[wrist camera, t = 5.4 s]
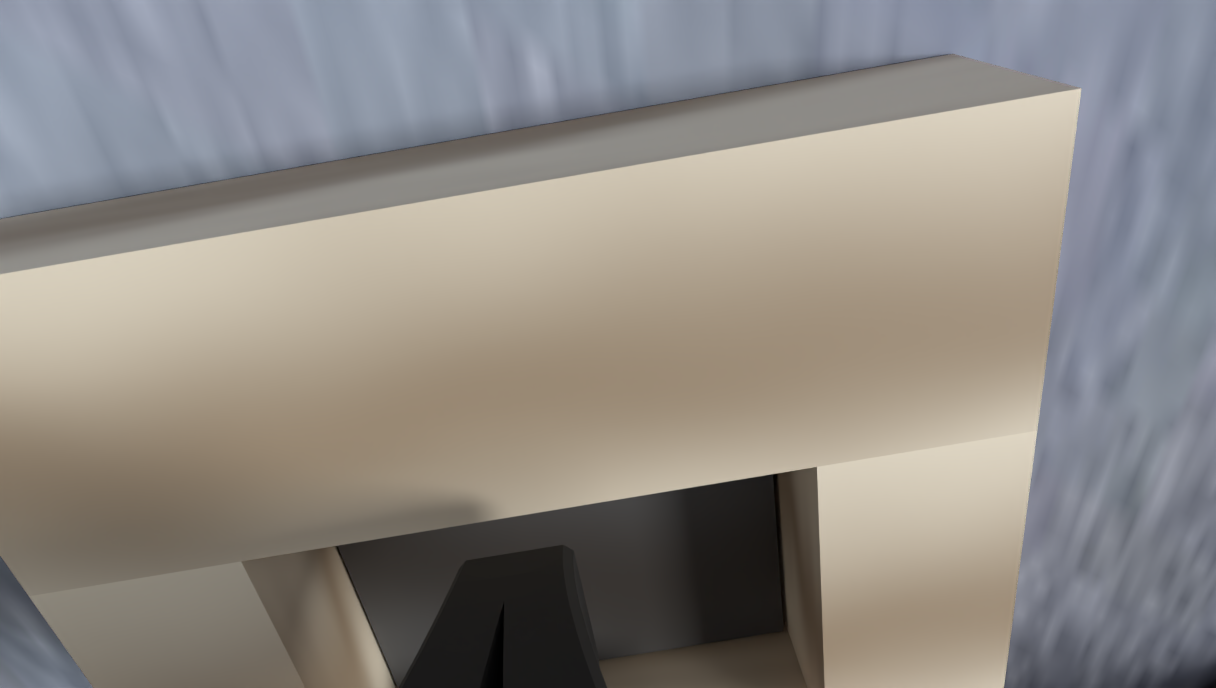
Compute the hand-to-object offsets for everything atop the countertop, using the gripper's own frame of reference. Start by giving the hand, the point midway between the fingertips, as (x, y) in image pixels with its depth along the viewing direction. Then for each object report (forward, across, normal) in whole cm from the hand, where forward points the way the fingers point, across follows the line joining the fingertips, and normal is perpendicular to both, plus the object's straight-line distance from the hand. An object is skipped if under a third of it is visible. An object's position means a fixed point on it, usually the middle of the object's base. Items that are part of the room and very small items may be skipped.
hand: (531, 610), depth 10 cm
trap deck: (+4, 0, +9) cm, 10 cm away
